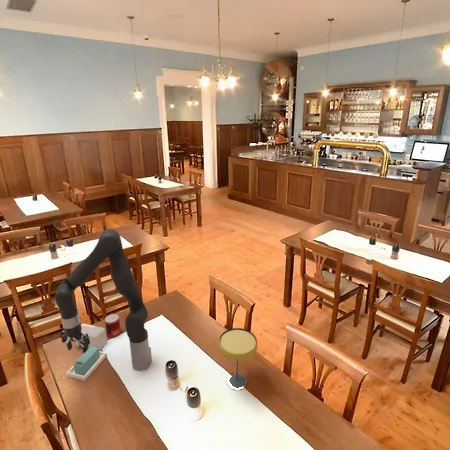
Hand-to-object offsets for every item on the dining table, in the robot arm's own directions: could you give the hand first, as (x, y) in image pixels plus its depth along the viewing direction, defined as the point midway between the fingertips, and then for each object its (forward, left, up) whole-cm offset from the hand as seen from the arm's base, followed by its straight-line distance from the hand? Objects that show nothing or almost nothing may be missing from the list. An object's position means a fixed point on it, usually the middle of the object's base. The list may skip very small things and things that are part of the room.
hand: (77, 350), depth 153 cm
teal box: (0, -5, -14) cm, 15 cm away
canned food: (+2, -31, -15) cm, 34 cm away
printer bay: (+9, -19, -15) cm, 26 cm away
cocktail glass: (-77, -17, -15) cm, 80 cm away
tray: (0, -5, -15) cm, 15 cm away
